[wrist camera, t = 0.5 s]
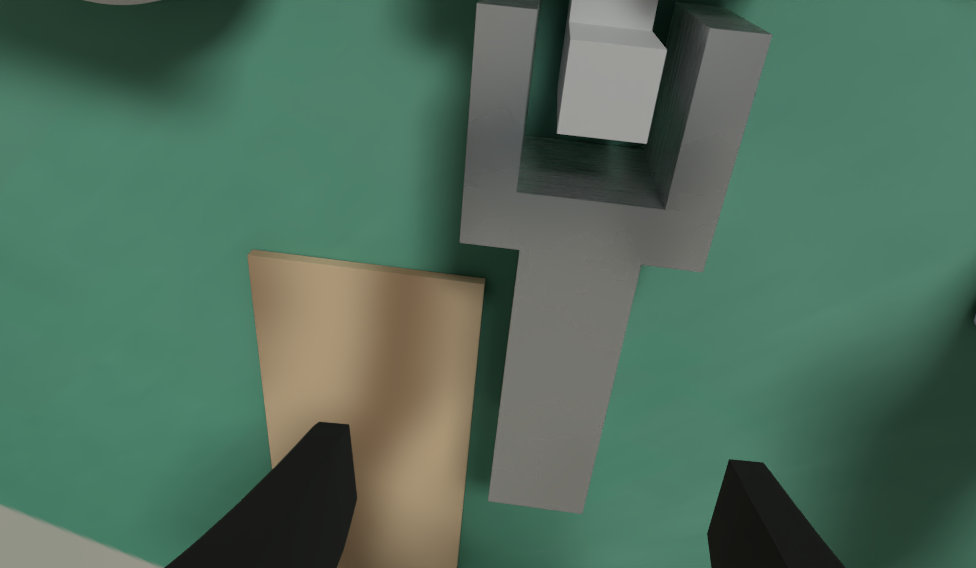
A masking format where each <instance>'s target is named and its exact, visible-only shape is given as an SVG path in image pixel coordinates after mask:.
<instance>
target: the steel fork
mask: <svg viewBox="0 0 976 568" xmlns="http://www.w3.org/2000/svg"><path fill="white" fill-rule="evenodd" d="M540 5H541V0H479V1H478V2H477V8H476V22H475V36H474V49H473V63H472V77H471V91H470V105H469V119H468V133H467V146H466V160H465V174H464V188H463V202H462V216H461V230H460V243H466V244H474V245H483V246H491V247H499V248H507V249H515V250H519V255H518V263H517V271H516V279H515V287H514V295H513V303H512V311H511V319H510V327H509V335H508V343H507V351H506V359H505V367H504V375H503V383H502V391H501V399H500V407H499V415H498V423H497V431H496V440H495V448H494V456H493V465H492V473H491V481H490V489H489V498H488V501H491V502H498V503H506V504H513V505H520V506H528V507H535V508H542V509H549V510H557V511H564V512H571V513H579V514H582V513H583V509H584V505H585V500H586V496H587V492H588V488H589V484H590V479H591V475H592V471H593V467H594V462H595V458H596V454H597V450H598V446H599V441H600V437H601V433H602V429H603V424H604V420H605V416H606V412H607V407H608V403H609V399H610V395H611V391H612V386H613V382H614V378H615V374H616V369H617V365H618V361H619V357H620V353H621V348H622V344H623V340H624V336H625V331H626V327H627V323H628V319H629V314H630V310H631V306H632V302H633V298H634V293H635V289H636V285H637V281H638V276H639V272H640V268H641V265H647V266H655V267H663V268H672V269H680V270H688V271H696V272H703V270H704V266H705V263H706V259H707V256H708V253H709V249H710V246H711V242H712V239H713V236H714V232H715V229H716V225H717V222H718V219H719V215H720V212H721V208H722V205H723V202H724V198H725V195H726V191H727V188H728V184H729V181H730V178H731V174H732V171H733V167H734V164H735V161H736V157H737V154H738V150H739V147H740V144H741V140H742V137H743V133H744V130H745V127H746V123H747V120H748V116H749V113H750V110H751V106H752V103H753V99H754V96H755V93H756V89H757V86H758V82H759V79H760V76H761V72H762V69H763V65H764V62H765V59H766V55H767V52H768V48H769V45H770V41H771V38H772V34H770V33H768V32H767V31H765V30H763V29H761V28H760V27H758V26H756V25H754V24H753V23H751V22H749V21H747V20H745V19H744V18H742V17H740V16H738V15H737V14H735V13H733V12H731V11H730V10H728V9H726V8H724V7H720V6H710V5H701V4H691V3H682V2H675V5H674V10H673V15H672V19H671V24H670V28H669V33H668V38H667V42H666V47H665V48H666V49H667V53H666V58H665V62H664V67H663V71H662V76H661V80H660V85H659V90H658V94H657V99H656V103H655V108H654V113H653V117H652V122H651V126H650V131H649V136H648V140H647V144H644V149H639V148H630V147H621V146H613V145H604V144H595V143H586V142H578V141H569V140H560V139H552V138H543V137H534V136H525V131H526V123H527V114H528V106H529V97H530V89H531V80H532V72H533V64H534V55H535V47H536V38H537V30H538V21H539V13H540Z"/></svg>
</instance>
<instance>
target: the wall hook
mask: <svg viewBox="0 0 976 568" xmlns="http://www.w3.org/2000/svg"><path fill="white" fill-rule="evenodd" d="M84 1H89V2H95V3H101V4H110V5H136V4H144V3H150V2H155V1H160V0H84Z"/></svg>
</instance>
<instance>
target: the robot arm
mask: <svg viewBox="0 0 976 568" xmlns="http://www.w3.org/2000/svg"><path fill="white" fill-rule="evenodd" d="M974 322H975V325H976V316H975V319H974ZM356 502H357V491H356V482H355V472H354V463H353V454H352V445H351V436H350V426H349V424H340V423H329V422H318V423H316V424H315V425H314V426H313V427H312V428H311V429H310V430H309V431H308V432H307V433H306V434H305V435H304V437H303V438H302V439H301V440H300V441H299V442H298V443H297V444H296V445H295V446H294V447H293V448H292V449H291V450H290V452H289V453H288V454H287V455H286V456H285V457H284V458H283V459H282V460H281V461H280V462H279V463H278V464H277V465H276V466H275V467H274V468H273V469H272V470H271V471H270V472H269V473H268V474H267V475H266V476H265V477H264V478H263V479H262V480H261V481H260V482H259V483H258V484H257V485H256V486H255V487H254V488H253V489H252V490H251V491H250V492H249V493H248V494H247V495H246V496H245V497H244V498H243V499H242V500H241V501H240V502H239V503H238V504H237V505H236V506H235V507H234V508H233V509H232V510H231V511H229V512H228V513H227V514H226V515H225V516H224V517H223V518H222V519H221V520H220V521H218V522H217V523H216V524H215V525H214V526H213V527H212V528H211V529H210V530H208V531H207V532H206V533H205V534H204V535H203V536H202V537H201V538H200V539H198V540H197V541H196V542H195V543H194V544H193V545H191V546H190V547H189V548H188V549H187V550H186V551H184V552H183V553H182V554H181V555H180V556H178V557H177V558H176V559H175V560H173V561H172V562H171V563H170V564H168V565H167V566H166V567H165V568H337V566H338V563H339V561H340V558H341V556H342V553H343V550H344V547H345V543H346V540H347V536H348V533H349V529H350V525H351V521H352V517H353V513H354V510H355V506H356ZM707 536H708V544H709V551H710V559H711V567H712V568H845V567H844V565H843V564H842V563H841V562H840V560H839V559H838V558H837V557H836V556H835V554H834V553H833V552H832V551H831V549H830V548H829V547H828V546H827V545H826V543H825V542H824V541H823V540H822V538H821V537H820V536H819V535H818V533H817V532H816V531H815V530H814V528H813V527H812V526H811V524H810V523H809V522H808V521H807V519H806V518H805V517H804V515H803V514H802V513H801V511H800V510H799V509H798V508H797V506H796V505H795V504H794V502H793V501H792V500H791V498H790V497H789V496H788V494H787V493H786V492H785V490H784V489H783V488H782V486H781V485H780V484H779V482H778V481H777V480H776V478H775V477H774V476H773V475H772V473H771V472H770V471H769V469H768V468H767V467H766V466H765V464H764V463H762V462H752V461H741V460H730V459H729V462H728V465H727V468H726V472H725V475H724V479H723V482H722V485H721V489H720V492H719V496H718V499H717V502H716V506H715V509H714V513H713V516H712V519H711V523H710V526H709V530H708V533H707Z"/></svg>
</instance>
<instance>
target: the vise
mask: <svg viewBox="0 0 976 568" xmlns="http://www.w3.org/2000/svg"><path fill="white" fill-rule="evenodd" d="M657 4H658V0H569V7H568V14H567V21H566V29H565V36H564V43H563V50H562V57H561V65H560V72H559V79H558V86H557V134H564V135H573V136H582V137H591V138H599V139H608V140H617V141H626V142H634V143H643V144H647V140H648V136H649V131H650V126H651V122H652V117H653V113H654V108H655V103H656V99H657V94H658V90H659V85H660V80H661V76H662V71H663V67H664V62H665V58H666V53H667V49H666V48H665V47H664V45H663V44H662V43H661V42H660V40H659V39H658V38H657V37H656V35H655V34H654V33H653V31H652V29H653V24H654V19H655V14H656V9H657Z"/></svg>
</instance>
